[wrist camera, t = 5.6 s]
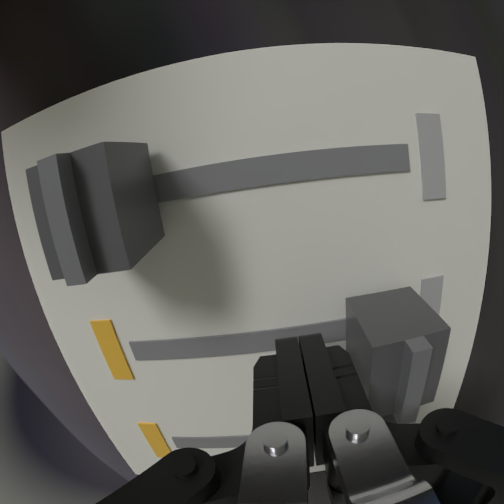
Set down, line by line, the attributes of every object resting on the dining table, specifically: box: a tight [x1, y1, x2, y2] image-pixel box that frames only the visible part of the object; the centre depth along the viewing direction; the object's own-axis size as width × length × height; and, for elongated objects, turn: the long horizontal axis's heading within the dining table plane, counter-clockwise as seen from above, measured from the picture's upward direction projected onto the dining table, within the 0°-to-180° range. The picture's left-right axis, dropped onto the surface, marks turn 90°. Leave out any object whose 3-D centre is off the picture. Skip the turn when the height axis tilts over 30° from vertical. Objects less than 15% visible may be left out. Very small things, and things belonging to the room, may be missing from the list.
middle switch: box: [345, 286, 451, 424], centre depth 9 cm, size 2×3×4 cm
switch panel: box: [1, 43, 491, 475], centre depth 12 cm, size 19×20×2 cm
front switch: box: [26, 142, 165, 286], centre depth 8 cm, size 2×3×4 cm
